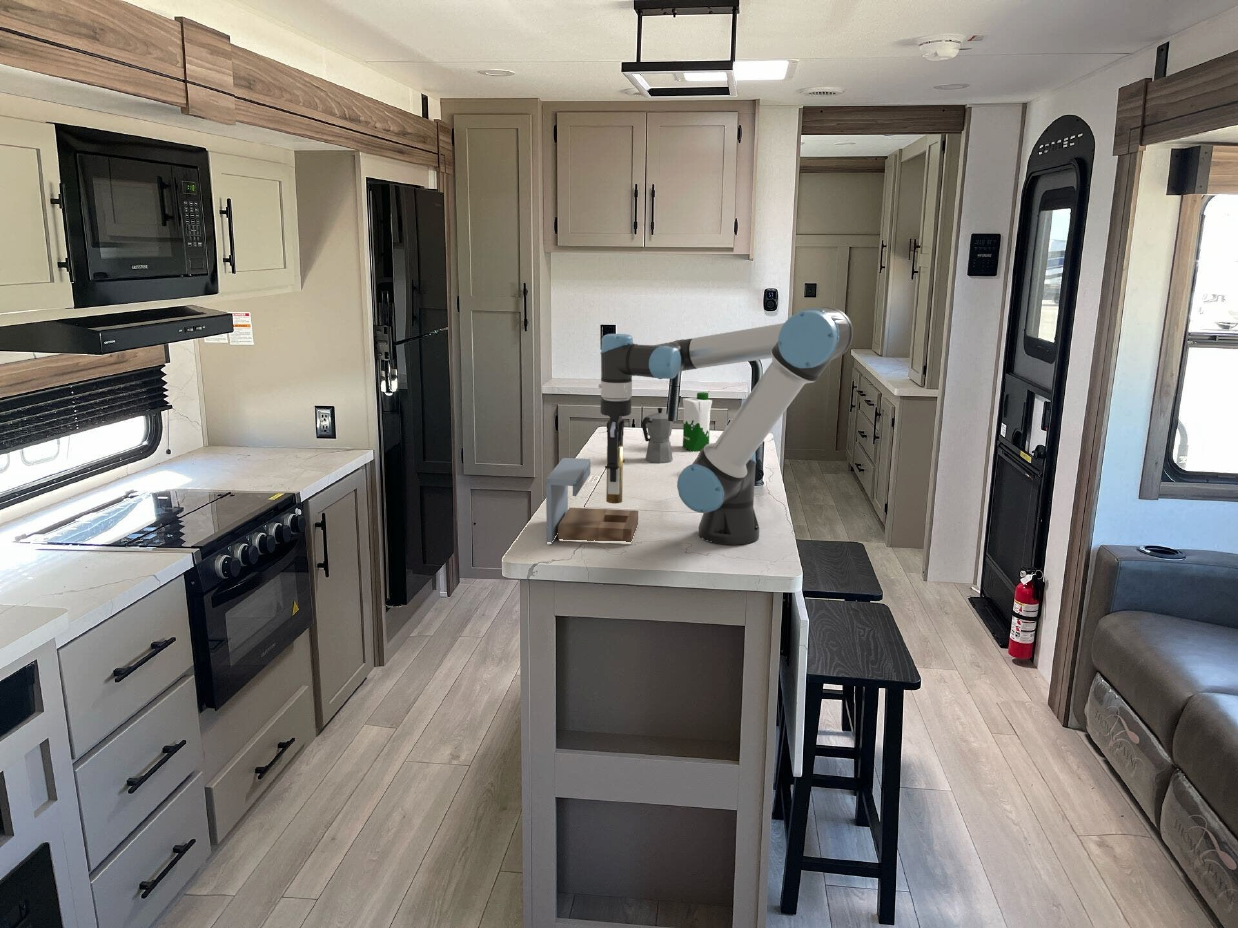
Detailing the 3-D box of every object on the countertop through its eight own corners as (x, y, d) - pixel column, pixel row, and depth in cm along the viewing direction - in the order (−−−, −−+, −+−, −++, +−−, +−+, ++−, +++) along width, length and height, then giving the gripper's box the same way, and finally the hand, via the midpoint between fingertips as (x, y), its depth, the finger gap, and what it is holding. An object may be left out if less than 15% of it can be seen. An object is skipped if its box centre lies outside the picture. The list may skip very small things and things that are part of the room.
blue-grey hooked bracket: (590, 519, 241) (590, 458, 237) (576, 546, 220) (575, 479, 216) (563, 518, 242) (563, 457, 238) (546, 544, 221) (546, 478, 217)
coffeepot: (661, 454, 316) (662, 403, 312) (682, 459, 310) (683, 407, 306) (631, 462, 305) (631, 409, 301) (652, 466, 299) (653, 412, 295)
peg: (610, 504, 225) (610, 448, 222) (603, 499, 229) (604, 445, 225) (624, 502, 227) (625, 447, 223) (618, 498, 230) (619, 444, 227)
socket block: (638, 525, 237) (638, 510, 236) (631, 544, 221) (631, 529, 220) (569, 522, 239) (569, 507, 238) (558, 541, 223) (557, 525, 222)
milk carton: (712, 450, 324) (714, 394, 319) (690, 452, 320) (692, 396, 316) (700, 445, 332) (702, 391, 327) (678, 447, 328) (680, 392, 323)
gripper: (605, 392, 230) (604, 481, 236) (595, 403, 214) (594, 499, 219) (635, 393, 229) (633, 483, 235) (627, 404, 213) (625, 501, 218)
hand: (614, 491), depth 227 cm, fingers closed on peg, 4 cm apart
